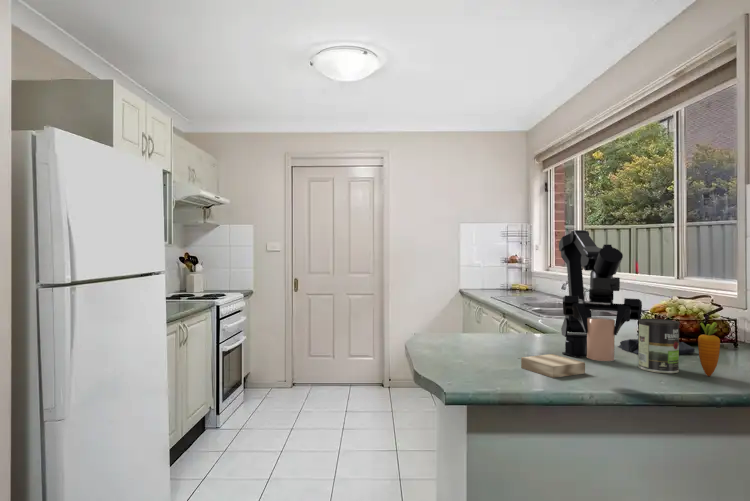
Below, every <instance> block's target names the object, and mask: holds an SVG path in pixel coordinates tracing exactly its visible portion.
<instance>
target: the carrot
mask: <svg viewBox="0 0 750 501" xmlns="http://www.w3.org/2000/svg"><path fill="white" fill-rule="evenodd" d="M699 325H700V326H701V328H702V330H703V331H704V334H700V335H699V336H698V338H697V347H698V355H699V362H700V365H701V368H702V370H703V372H704V374H705V375H706V376H707V377H711V376H712V375H713V373H714V372H715V370H716V369H717V366H718V364H719V363H718V362H719V358H720V351H721V350H720V349H721V339H720V338H719V337H718V336H716V335H715V333H716V332H718V329H716V327H717V325H718V324H717V322H715V321H714V322H712V324H709V323H707V324H706V326H705V324H704V322H700V323H699Z"/></svg>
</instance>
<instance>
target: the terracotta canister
mask: <svg viewBox="0 0 750 501" xmlns="http://www.w3.org/2000/svg"><path fill="white" fill-rule="evenodd" d="M615 323H616V319H614V318H608V317H598V316H597V317H595V316H593V317H592V316H591V318H587V356H586V358H587V359H590V360H593V361H598V362H599V361H602V362H611V361H612V362H613V361H615V342H616V341H615V336H616V335H615Z"/></svg>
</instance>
